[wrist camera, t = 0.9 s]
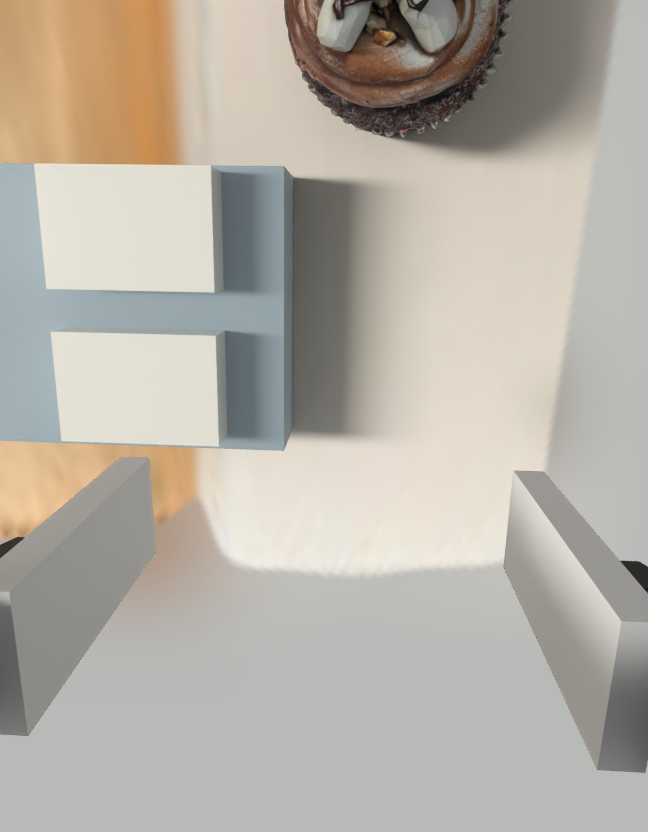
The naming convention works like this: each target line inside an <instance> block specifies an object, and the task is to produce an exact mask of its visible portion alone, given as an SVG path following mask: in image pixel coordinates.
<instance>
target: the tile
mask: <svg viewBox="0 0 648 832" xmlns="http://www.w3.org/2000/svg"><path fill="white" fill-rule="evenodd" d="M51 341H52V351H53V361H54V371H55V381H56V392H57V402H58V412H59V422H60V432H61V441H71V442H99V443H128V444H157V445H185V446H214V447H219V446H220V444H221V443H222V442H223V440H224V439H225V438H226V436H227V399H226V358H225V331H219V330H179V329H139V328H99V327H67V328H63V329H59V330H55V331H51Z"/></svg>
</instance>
